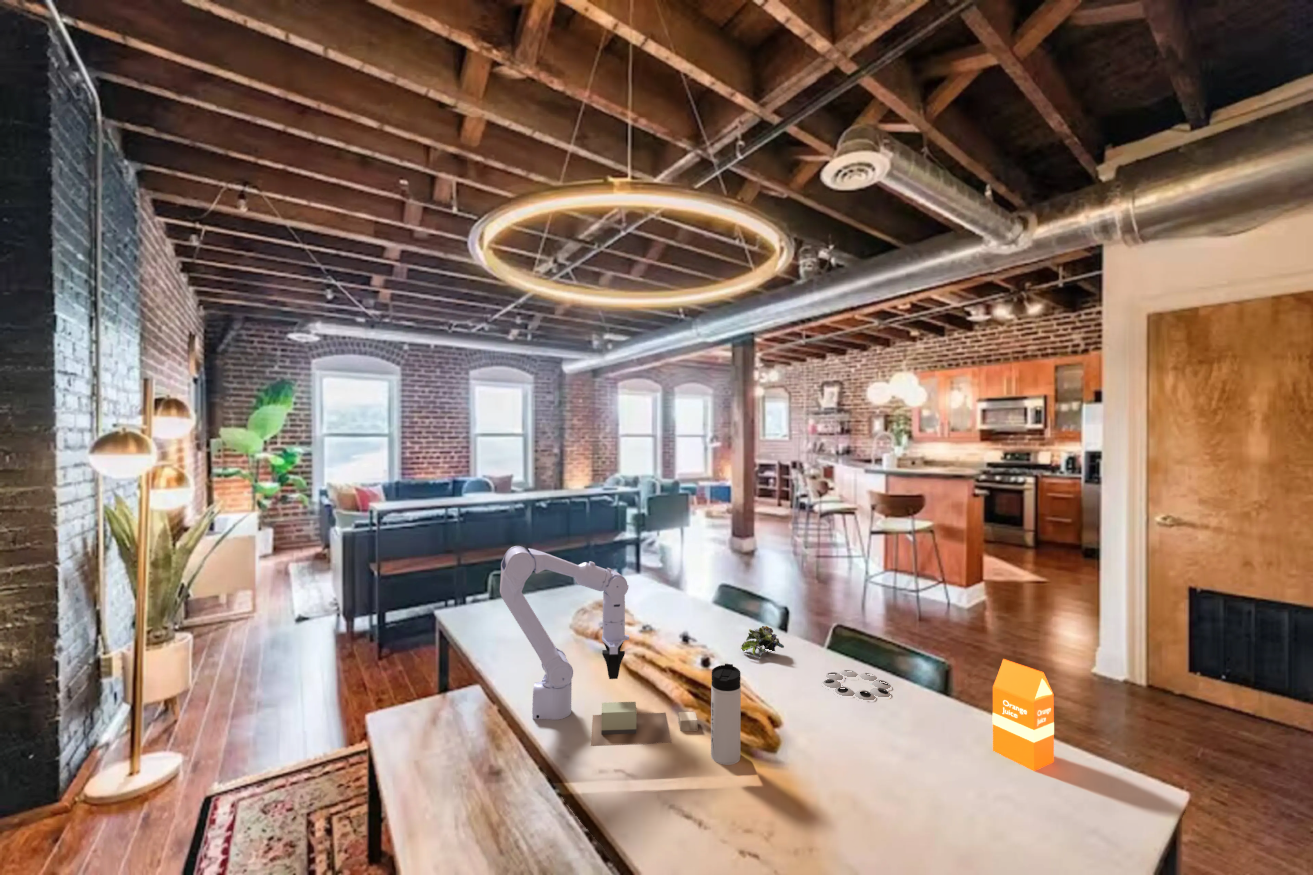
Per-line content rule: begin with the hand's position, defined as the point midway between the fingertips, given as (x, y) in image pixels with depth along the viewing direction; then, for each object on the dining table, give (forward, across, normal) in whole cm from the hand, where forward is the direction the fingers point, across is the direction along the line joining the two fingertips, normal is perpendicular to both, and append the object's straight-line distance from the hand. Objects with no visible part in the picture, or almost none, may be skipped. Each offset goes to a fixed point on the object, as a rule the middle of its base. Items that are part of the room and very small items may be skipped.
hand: (613, 672), depth 143 cm
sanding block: (+8, -13, -1) cm, 15 cm away
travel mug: (+10, -26, -24) cm, 37 cm away
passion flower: (+10, +33, -48) cm, 59 cm away
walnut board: (+9, -13, -4) cm, 17 cm away
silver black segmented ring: (+10, +9, -69) cm, 70 cm away
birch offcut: (+8, -13, -16) cm, 22 cm away
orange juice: (+10, -28, -90) cm, 95 cm away
